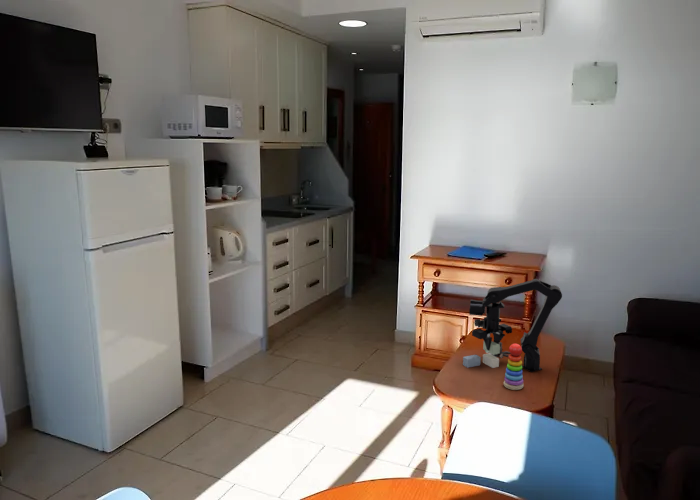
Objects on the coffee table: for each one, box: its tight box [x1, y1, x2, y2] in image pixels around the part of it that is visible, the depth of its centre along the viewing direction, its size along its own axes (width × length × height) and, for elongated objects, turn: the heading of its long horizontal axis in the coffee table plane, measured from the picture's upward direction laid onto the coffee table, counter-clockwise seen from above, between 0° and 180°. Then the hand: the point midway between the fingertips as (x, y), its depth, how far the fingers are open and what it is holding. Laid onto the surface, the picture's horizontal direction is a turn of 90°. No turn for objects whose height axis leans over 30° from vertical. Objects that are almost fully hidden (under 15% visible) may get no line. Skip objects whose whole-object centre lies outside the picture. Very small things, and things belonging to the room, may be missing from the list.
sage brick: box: [482, 340, 500, 355], centre depth 245 cm, size 7×4×4 cm, turn 25°
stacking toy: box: [503, 343, 524, 391], centre depth 222 cm, size 8×8×19 cm
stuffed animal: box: [484, 341, 511, 359], centre depth 260 cm, size 12×10×12 cm
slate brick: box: [462, 354, 482, 368], centre depth 246 cm, size 7×4×4 cm, turn 113°
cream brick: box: [482, 353, 500, 369], centre depth 246 cm, size 7×4×4 cm, turn 24°
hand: (491, 349), depth 245 cm, fingers closed on sage brick, 3 cm apart
